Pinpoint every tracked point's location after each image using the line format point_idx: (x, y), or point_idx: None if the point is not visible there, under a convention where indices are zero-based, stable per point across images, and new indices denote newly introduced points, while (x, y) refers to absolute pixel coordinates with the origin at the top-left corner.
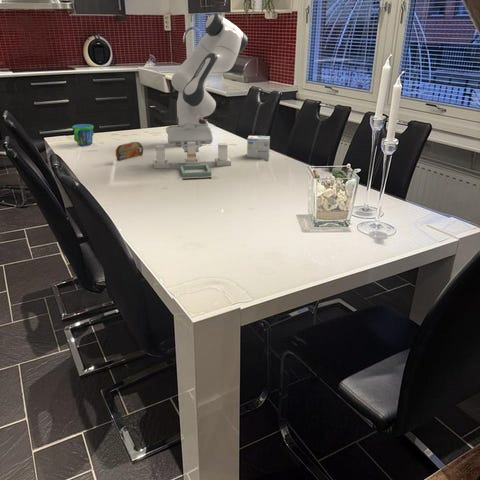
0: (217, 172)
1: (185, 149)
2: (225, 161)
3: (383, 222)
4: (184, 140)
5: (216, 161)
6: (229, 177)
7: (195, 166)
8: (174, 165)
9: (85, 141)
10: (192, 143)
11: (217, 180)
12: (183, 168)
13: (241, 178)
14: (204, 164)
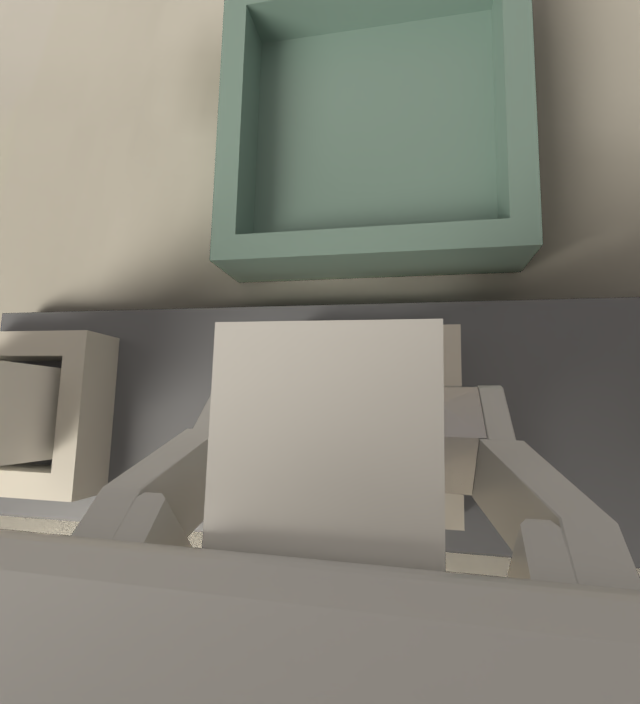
0: (161, 231)
1: (477, 398)
2: (7, 332)
3: None
4: (532, 582)
5: (91, 364)
6: (105, 83)
7: (349, 233)
8: (604, 432)
9: None
10: (300, 325)
11: (211, 7)
12: (506, 116)
13: (32, 56)
14: None
